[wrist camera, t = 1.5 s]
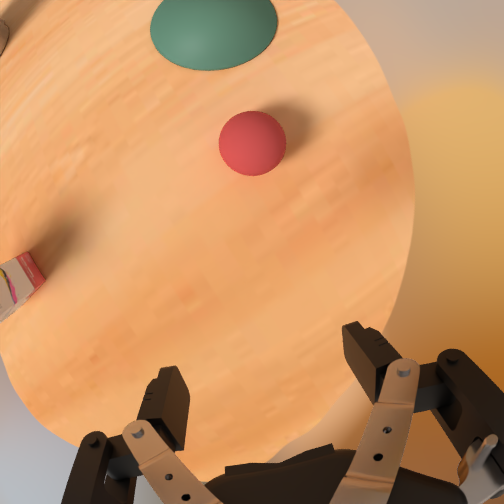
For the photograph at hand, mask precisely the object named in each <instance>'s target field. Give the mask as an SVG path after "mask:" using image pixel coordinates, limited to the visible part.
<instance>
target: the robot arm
mask: <svg viewBox="0 0 504 504" xmlns="http://www.w3.org/2000/svg"><path fill="white" fill-rule="evenodd" d="M4 23H5V21H4V20H2V19H0V55H1V53H2V51H3V49H4V47H5V45H6V42H7V39H8V35H9V29H8V27H7V26H6V25H4ZM342 336H343V347H344V355H345V358H346V361H347V363H348V365H349V366H350V368H351V370H352V371H353V373H354V375H355V376H356V378H357V379H358V381H359V383H360V384H361V386H362V388H363V389H364V391H365V393H366V394H367V396H368V397H369V399H370V401H371V402H372V404H373V406H374V407H373V409H372V412H371V415H370V418H369V421H368V423H367V426H366V429H365V431H364V434H363V437H362V439H361V442H360V444H359V446H358V449H357V450H350V449H337V450H334V448H333V445H332V443H331V444H328V445H325V446H322V447H318V448H315V449H311V450H308V451H305V452H303V453H301V454H298V455H296V456H294V457H292V458H290V459H288V460H285V461H283V462H280V463H247V464H240V465H233V466H226V467H225V474H222V475H220V476H218V477H216V478H214V479H212V480H210V481H209V482H208V483H206V484H205V485H203V484H202V483H201V482H200V481H199V480H198V479H197V478H196V477H195V476H194V475H193V474H192V473H191V471H190V470H189V469H188V468H187V467H186V466H185V465H184V464H183V463H182V462H181V460H180V459H179V458H178V457H177V456H176V455H175V451H182V450H184V444H185V436H186V428H187V420H188V412H189V404H190V394H189V390H188V388H187V386H186V384H185V382H184V380H183V378H182V376H181V373H180V371H179V369H178V368H177V366H170V367H163V368H161V369H160V371H159V374H158V377H157V378H156V379H153V380H152V381H151V382H150V383H149V385H148V386H147V388H146V391H145V395H144V398H143V401H142V404H141V407H140V410H139V413H138V416H137V419H136V421H133V422H131V423H129V424H128V425H127V426H126V427H125V428H124V430H123V433H122V434H121V435H117V436H114V437H110V438H107V436H106V435H105V434H104V433H103V432H100V431H94V432H91V433H89V434H87V435H86V436H85V437H84V438H83V440H82V442H81V444H80V447H79V450H78V453H77V455H76V459H75V461H74V464H73V467H72V470H71V473H70V476H69V479H68V482H67V485H66V489H65V492H64V495H63V499H62V502H61V504H133V501H134V494H135V487H136V480H137V476H141V475H144V476H145V478H146V479H147V481H148V482H149V484H150V485H151V487H152V488H153V490H154V491H155V492H156V494H157V495H158V496H159V497H160V499H161V500H162V502H163V503H164V504H482V503H483V502H485V501H486V500H488V499H489V498H490V499H493V498H497V497H499V496H501V495H502V494H504V393H503V392H502V391H501V390H500V389H499V387H497V385H496V384H494V382H493V381H492V380H491V379H490V378H489V377H488V376H487V375H486V374H485V373H484V372H483V371H482V370H481V369H480V368H479V367H478V366H477V365H476V364H475V363H474V362H473V361H472V360H471V359H470V358H469V357H468V356H467V355H466V354H465V353H464V352H462V351H461V350H458V349H447V350H445V351H443V352H441V353H440V354H439V356H438V358H437V362H433V363H429V364H423V365H419V364H418V363H417V362H416V361H414V360H412V359H407V358H402V357H401V355H400V354H399V353H398V352H397V351H396V350H395V349H394V348H393V347H392V345H390V343H388V341H387V340H386V339H385V338H384V337H383V336H382V334H381V333H380V332H379V331H377V330H375V329H373V328H370V327H369V328H366V329H364V328H363V327H362V326H361V324H360V323H359V322H358V321H355V322H352V323H349V324H346V325H343V326H342ZM427 410H431V412H432V413H433V415H434V416H435V418H436V419H437V421H438V422H439V424H440V425H441V427H442V428H443V430H444V431H445V433H446V435H447V436H448V438H449V439H450V441H451V442H452V444H453V446H454V447H455V449H456V450H457V452H458V454H459V455H460V456H461V461H460V463H459V465H458V468H457V474H458V477H459V486H456V485H455V484H453V483H450V482H447V481H443V480H440V479H436V478H433V477H430V476H426V475H423V474H420V473H417V472H414V471H411V470H408V469H405V468H402V467H400V463H401V459H402V455H403V452H404V448H405V445H406V441H407V437H408V433H409V429H410V424H411V420H412V415H413V413H416V412H422V411H427ZM106 474H107V475H106ZM105 476H106V479H105ZM104 481H105V484H104Z"/></svg>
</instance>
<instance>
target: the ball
mask: <svg viewBox="0 0 504 504" xmlns="http://www.w3.org/2000/svg"><path fill="white" fill-rule="evenodd" d="M285 149H286V138H285V134H284V131H283V129H282V127H281V126H280V124H279V123H278V122H277V121H276V120H275V119H274V118H273V117H271V116H270V115H268V114H265V113H263V112H258V111H247V112H243V113H240V114H237V115H235V116H234V117H232V118H231V119H230V120H229V121H228V122H227V123H226V124H225V125H224V127H223V129H222V131H221V134H220V137H219V150H220V153H221V156H222V158H223V160H224V161H225V163H226V164H227V165H228V166H229V167H230V168H231V169H233V170H234V171H236V172H238V173H240V174H243V175H248V176H257V175H262V174H265V173H267V172H269V171H271V170H272V169H274V168H275V167H276V166H277V165H278V164H279V163H280V161H281V160H282V158H283V156H284V153H285Z"/></svg>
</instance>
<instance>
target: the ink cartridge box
mask: <svg viewBox="0 0 504 504" xmlns="http://www.w3.org/2000/svg"><path fill="white" fill-rule="evenodd" d="M44 282H45V279H44V277H43V276H42V274H41V273H40V271H39V270H38V268H37V266H36V265H35V263H34V261H33V260H32V258H31V256H30V255H29V253H28V252H25V253H23V254H21V255H19V256H17V257H15V258H13V259H11V260H9V261H7V262H5V263H3V264H2V265H0V323H1V322H3V321H4V320H5V319H6V318H8V317H9V316H10V315H11V314H13V313H14V312H15V311H16V310H18V309H19V308H20V307H21V306H22V305H23V304H24V303H25V302H26V300H27V299H28V298H29V297H30V296H31V295H32V294H33V293H34V292H35V291H36V290H37V289H38V288H39V287H40V286H41V285H42V284H43V283H44Z"/></svg>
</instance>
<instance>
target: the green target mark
mask: <svg viewBox="0 0 504 504" xmlns="http://www.w3.org/2000/svg"><path fill="white" fill-rule="evenodd" d="M276 27H277V16H276V12H275V9H274V7H273V5H272V4H271V2H270V1H269V0H164V1H163V2H162V3H161V4H160V5H159V6H158V8H157V9H156V11H155V13H154V15H153V18H152V21H151V27H150V32H151V38H152V41H153V43H154V45H155V47H156V49H157V50H158V51H159V53H160V54H161V55H163V56H164V57H165V58H166V59H168V60H169V61H170V62H172V63H174V64H176V65H179V66H182V67H185V68H189V69H194V70H206V71H211V70H221V69H227V68H231V67H235V66H238V65H240V64H243V63H245V62H247V61H249V60H251V59H253V58H254V57H256V56H257V55H259V54H260V53H261V52H262V51H263V50H264V49H265V48H266V47H267V46H268V45H269V44H270V42H271V40H272V39H273V37H274V34H275V31H276Z"/></svg>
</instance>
